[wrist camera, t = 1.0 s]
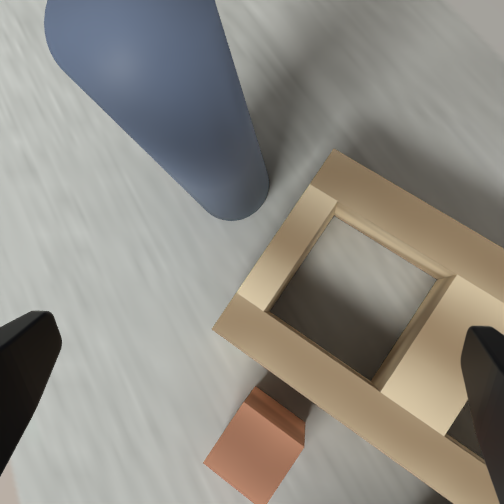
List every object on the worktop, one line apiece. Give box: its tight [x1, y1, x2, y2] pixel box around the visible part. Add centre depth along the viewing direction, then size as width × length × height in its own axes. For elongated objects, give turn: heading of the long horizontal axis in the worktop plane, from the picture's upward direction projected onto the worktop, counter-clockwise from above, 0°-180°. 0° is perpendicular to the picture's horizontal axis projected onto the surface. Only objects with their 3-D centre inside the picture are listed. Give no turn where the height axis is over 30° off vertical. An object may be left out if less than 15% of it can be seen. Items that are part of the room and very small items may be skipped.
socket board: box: [203, 149, 504, 504], centre depth 19 cm, size 14×18×4 cm
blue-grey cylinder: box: [44, 0, 269, 221], centre depth 17 cm, size 4×4×14 cm
